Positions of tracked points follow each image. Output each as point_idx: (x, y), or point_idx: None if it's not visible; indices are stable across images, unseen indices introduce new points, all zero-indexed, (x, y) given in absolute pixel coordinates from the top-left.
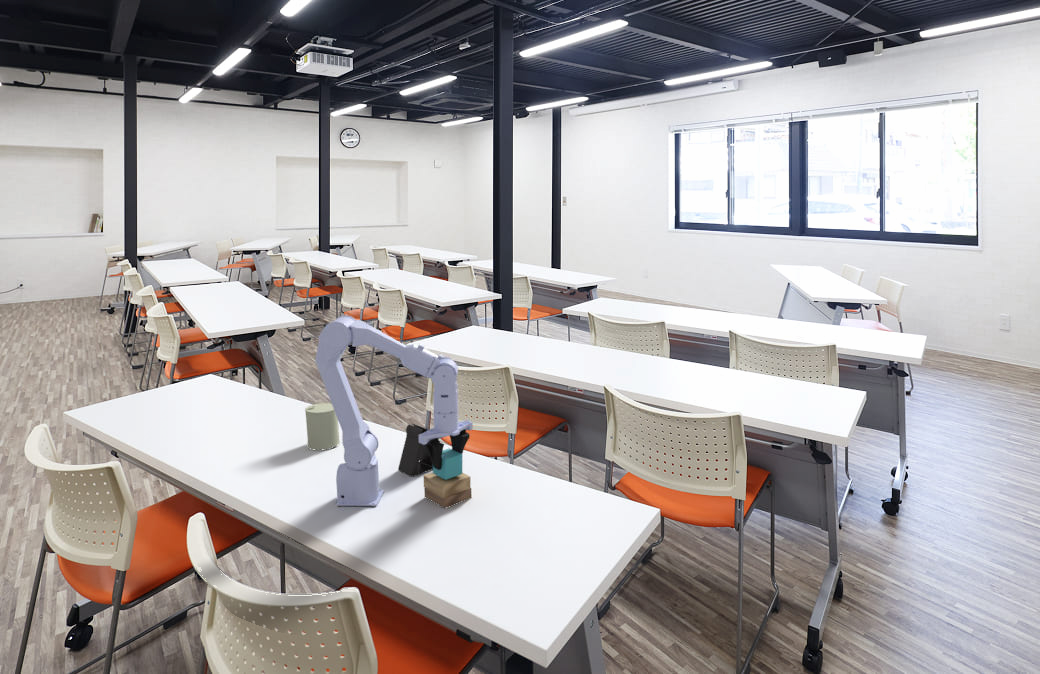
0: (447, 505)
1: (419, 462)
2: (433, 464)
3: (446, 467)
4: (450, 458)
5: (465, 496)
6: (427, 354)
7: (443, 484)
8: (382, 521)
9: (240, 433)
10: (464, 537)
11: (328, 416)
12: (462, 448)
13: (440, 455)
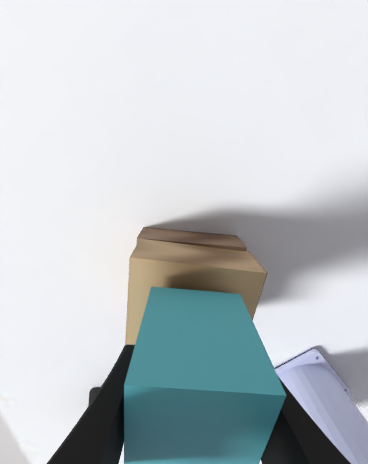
0: (230, 237)
1: None
2: None
3: (254, 338)
4: (238, 388)
5: (164, 233)
6: None
7: (254, 281)
8: (363, 294)
9: None
10: (350, 52)
11: None
12: (82, 445)
13: (321, 457)
